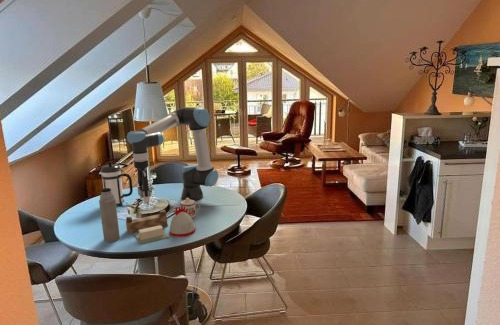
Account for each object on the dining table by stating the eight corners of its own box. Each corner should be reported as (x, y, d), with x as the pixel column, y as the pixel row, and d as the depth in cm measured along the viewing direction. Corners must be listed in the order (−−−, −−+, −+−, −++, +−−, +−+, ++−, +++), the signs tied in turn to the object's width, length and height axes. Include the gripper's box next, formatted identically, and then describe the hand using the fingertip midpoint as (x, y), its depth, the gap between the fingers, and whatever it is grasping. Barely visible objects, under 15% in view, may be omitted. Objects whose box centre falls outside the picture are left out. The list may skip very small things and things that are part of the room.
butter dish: (162, 229, 209) (161, 222, 208) (168, 237, 199) (167, 229, 198) (135, 235, 202) (134, 228, 201) (139, 244, 192) (139, 236, 191)
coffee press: (112, 210, 242) (107, 165, 235) (98, 205, 252) (93, 162, 245) (134, 202, 256) (130, 160, 249) (121, 198, 265) (116, 157, 258)
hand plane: (165, 222, 219) (164, 209, 217) (167, 225, 215) (166, 211, 213) (126, 230, 209) (125, 216, 207) (128, 234, 205) (127, 219, 203)
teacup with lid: (184, 220, 223) (183, 201, 220) (179, 215, 230) (177, 197, 228) (202, 215, 228) (201, 197, 226) (197, 211, 236) (196, 194, 233)
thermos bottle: (107, 235, 204) (101, 186, 197) (122, 235, 203) (116, 186, 197) (101, 242, 196) (94, 191, 189) (116, 242, 196) (110, 191, 189)
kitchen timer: (165, 231, 208) (163, 205, 204) (187, 224, 216) (185, 200, 212) (176, 239, 197) (174, 212, 194) (199, 232, 205) (197, 206, 202)
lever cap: (147, 192, 212) (146, 182, 211) (150, 196, 205) (149, 186, 203) (138, 193, 210) (137, 184, 208) (141, 197, 202) (140, 188, 201)
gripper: (129, 157, 210) (133, 195, 215) (138, 165, 192) (142, 206, 197) (143, 155, 213) (147, 193, 219) (152, 163, 195) (156, 203, 200)
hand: (144, 199), depth 208 cm, fingers closed on lever cap, 8 cm apart
